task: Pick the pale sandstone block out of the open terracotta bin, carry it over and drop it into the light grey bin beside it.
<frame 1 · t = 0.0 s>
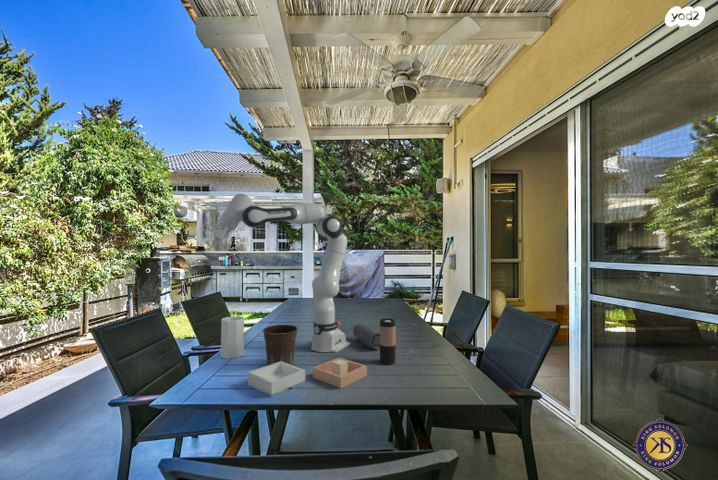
hand: (212, 247, 155), 54 cm above the table, tool tilted 30°, fingers open, 8 cm apart
terracotta bin: (339, 378, 135), on the table
bluetooth speaker: (367, 345, 181), on the table
travel mug: (387, 362, 154), on the table
cup: (232, 355, 163), on the table
sandstone block: (340, 376, 135), point 1 cm above the table, touching terracotta bin
plant pot: (280, 363, 152), on the table
light grey bin: (276, 383, 129), on the table
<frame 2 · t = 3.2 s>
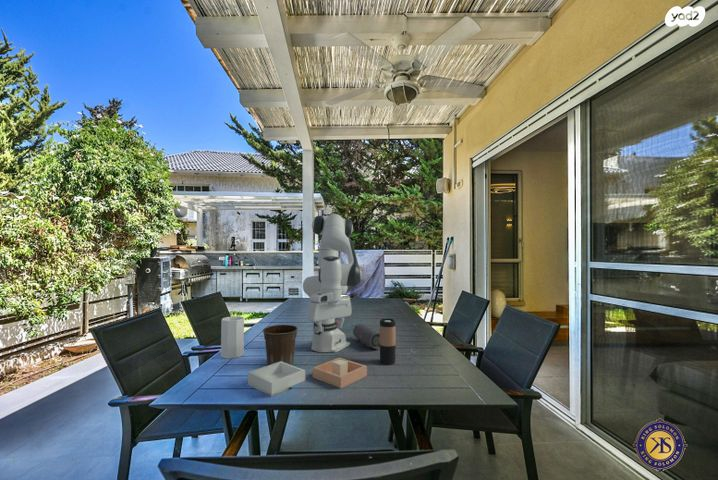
hand: (330, 329, 132), 21 cm above the table, tool pointing down, fingers open, 8 cm apart
nothing on the table moved.
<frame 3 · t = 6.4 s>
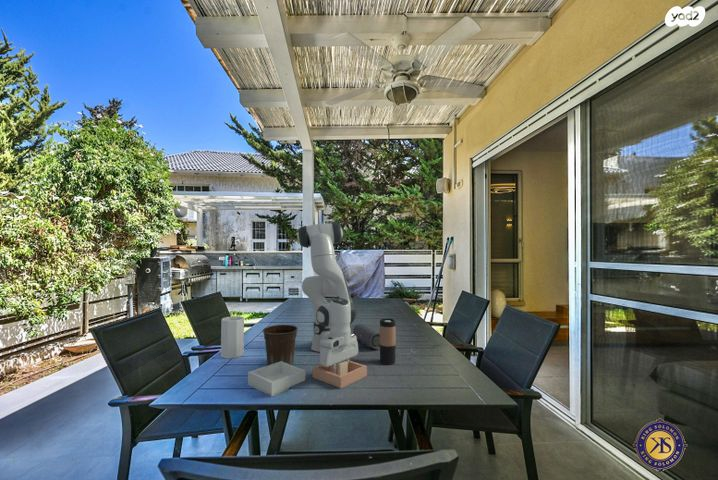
hand: (339, 371, 135), 3 cm above the table, tool pointing down, fingers closed on sandstone block, 4 cm apart
sandstone block: (340, 376, 135), point 1 cm above the table, touching gripper, terracotta bin
everything else where it was.
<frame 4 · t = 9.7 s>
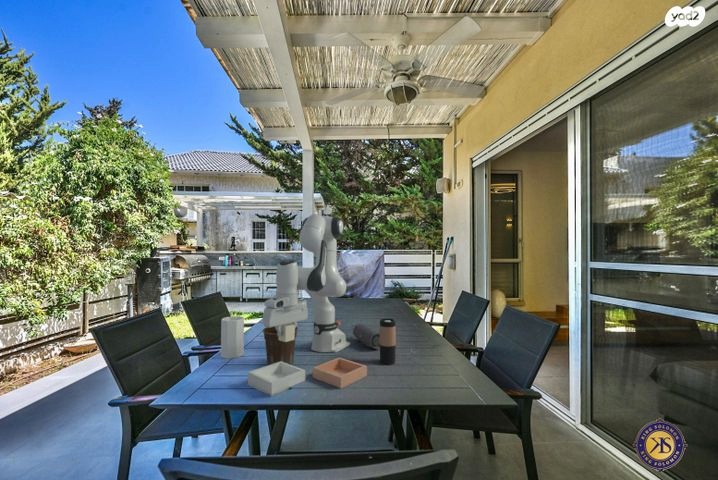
hand: (286, 334, 130), 20 cm above the table, tool pointing down, fingers closed on sandstone block, 4 cm apart
sandstone block: (286, 339, 130), point 17 cm above the table, touching gripper
everything else where it was.
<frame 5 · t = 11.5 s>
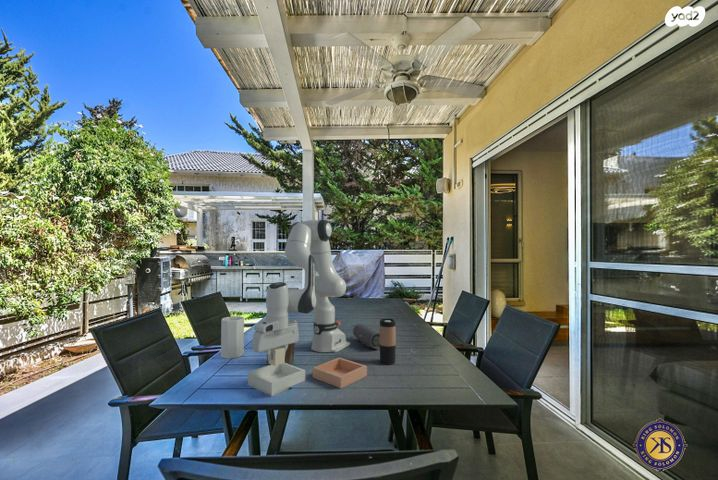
hand: (276, 357, 129), 10 cm above the table, tool pointing down, fingers closed on sandstone block, 4 cm apart
sandstone block: (276, 363, 129), point 8 cm above the table, touching gripper
everything else where it was.
when the fingers open (5 cm above the table, at t = 13.1 s): sandstone block drops 2 cm, resting on light grey bin.
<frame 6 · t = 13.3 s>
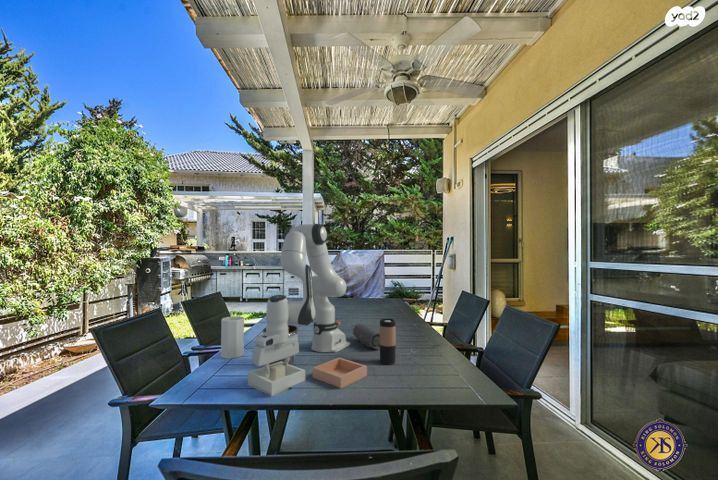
hand: (276, 370, 130), 5 cm above the table, tool pointing down, fingers open, 6 cm apart
sandstone block: (277, 381, 129), point 1 cm above the table, touching light grey bin
everything else where it was.
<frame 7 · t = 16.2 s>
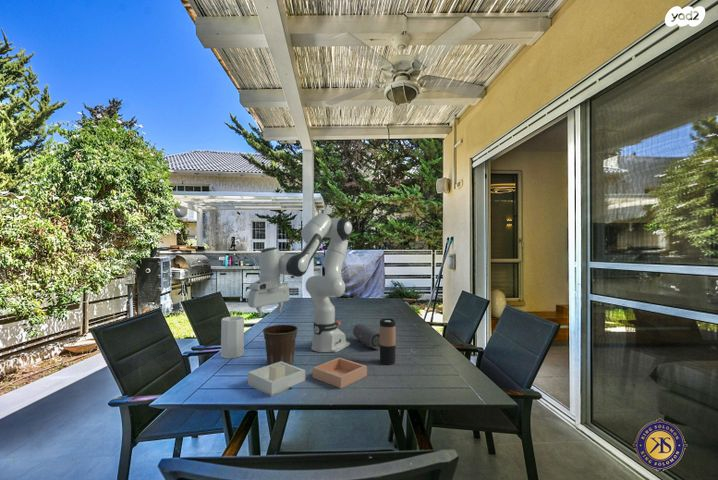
hand: (270, 314, 146), 25 cm above the table, tool pointing down, fingers open, 8 cm apart
nothing on the table moved.
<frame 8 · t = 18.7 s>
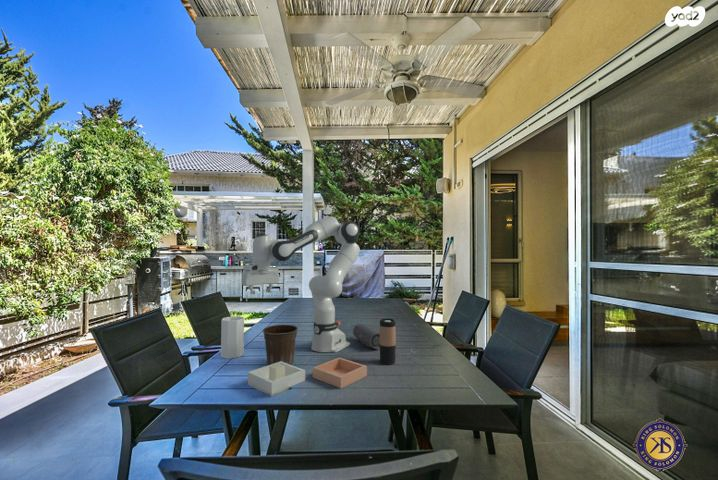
hand: (260, 293, 165), 31 cm above the table, tool pointing down, fingers open, 8 cm apart
nothing on the table moved.
at the end: sandstone block inside the target area on the light grey bin (0.1 cm from its centre), point 1.0 cm above the light grey bin's base; the gripper is holding nothing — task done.
